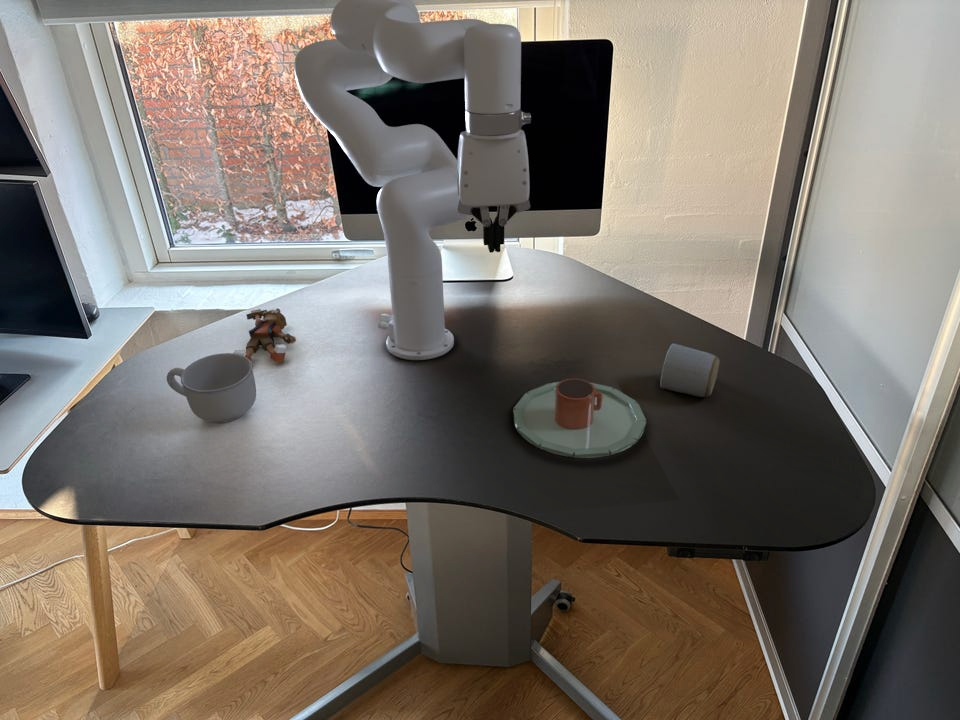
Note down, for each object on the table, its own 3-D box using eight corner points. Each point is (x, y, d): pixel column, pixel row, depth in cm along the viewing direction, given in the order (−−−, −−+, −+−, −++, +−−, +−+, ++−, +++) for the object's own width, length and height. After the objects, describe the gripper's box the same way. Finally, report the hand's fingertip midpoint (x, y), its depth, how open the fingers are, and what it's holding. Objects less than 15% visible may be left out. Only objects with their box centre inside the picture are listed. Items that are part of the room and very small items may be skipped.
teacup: (273, 400, 119) (265, 358, 115) (233, 437, 110) (223, 392, 106) (203, 387, 123) (193, 346, 119) (159, 421, 114) (147, 378, 110)
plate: (492, 443, 108) (492, 433, 107) (541, 380, 123) (542, 371, 123) (623, 478, 100) (624, 468, 99) (658, 406, 116) (659, 397, 115)
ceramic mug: (708, 407, 115) (715, 365, 112) (657, 396, 118) (662, 354, 115) (719, 377, 124) (726, 337, 120) (671, 367, 127) (677, 328, 123)
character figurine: (215, 352, 127) (246, 299, 142) (221, 374, 130) (251, 320, 145) (282, 352, 127) (306, 299, 141) (287, 375, 130) (310, 320, 144)
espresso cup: (559, 431, 108) (561, 400, 105) (550, 409, 113) (551, 380, 111) (606, 426, 109) (609, 396, 106) (595, 405, 114) (597, 375, 112)
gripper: (541, 115, 103) (538, 238, 112) (437, 119, 102) (442, 243, 111) (551, 126, 97) (547, 255, 106) (440, 131, 95) (445, 261, 105)
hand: (493, 248), depth 108 cm, fingers closed
